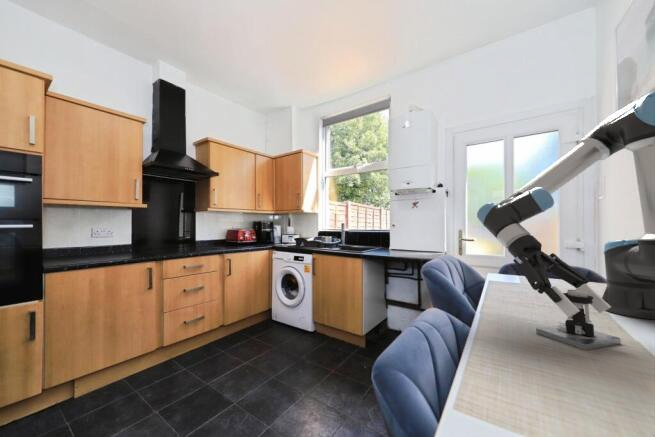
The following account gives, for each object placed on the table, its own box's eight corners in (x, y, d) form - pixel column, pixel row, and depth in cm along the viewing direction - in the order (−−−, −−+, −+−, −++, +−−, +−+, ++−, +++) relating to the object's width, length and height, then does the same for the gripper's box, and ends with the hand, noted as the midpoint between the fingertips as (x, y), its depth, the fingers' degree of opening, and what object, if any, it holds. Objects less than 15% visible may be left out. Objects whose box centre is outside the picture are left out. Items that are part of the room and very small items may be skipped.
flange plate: (568, 328, 68) (568, 323, 68) (620, 343, 58) (620, 338, 59) (536, 333, 65) (536, 328, 65) (585, 350, 55) (585, 344, 55)
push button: (555, 330, 63) (553, 289, 64) (560, 326, 66) (558, 287, 67) (594, 339, 58) (591, 294, 58) (597, 334, 61) (594, 291, 62)
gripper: (537, 250, 81) (607, 315, 65) (481, 251, 74) (543, 324, 58) (555, 233, 76) (635, 299, 60) (497, 233, 70) (569, 307, 54)
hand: (590, 312), depth 59 cm, fingers open, 10 cm apart
